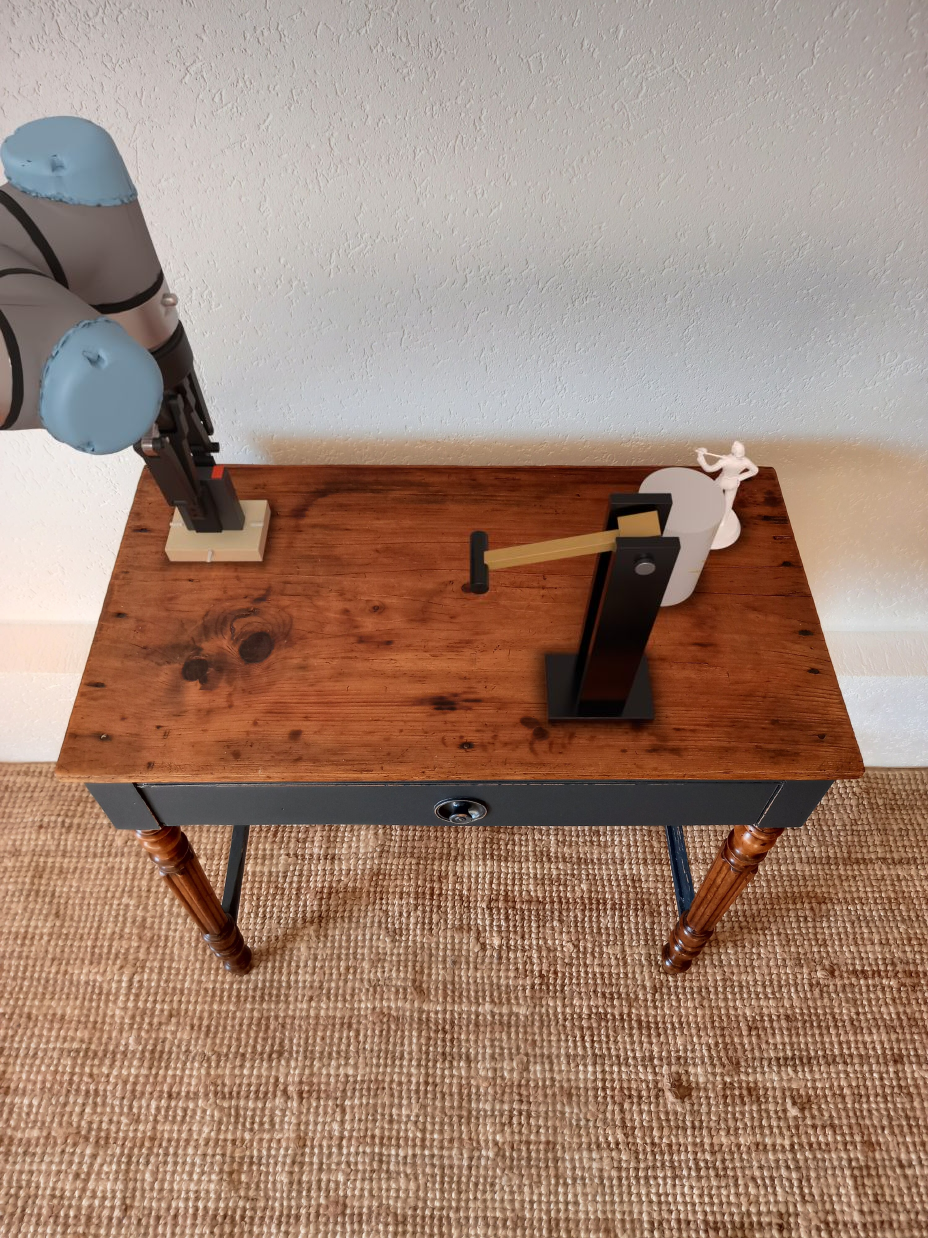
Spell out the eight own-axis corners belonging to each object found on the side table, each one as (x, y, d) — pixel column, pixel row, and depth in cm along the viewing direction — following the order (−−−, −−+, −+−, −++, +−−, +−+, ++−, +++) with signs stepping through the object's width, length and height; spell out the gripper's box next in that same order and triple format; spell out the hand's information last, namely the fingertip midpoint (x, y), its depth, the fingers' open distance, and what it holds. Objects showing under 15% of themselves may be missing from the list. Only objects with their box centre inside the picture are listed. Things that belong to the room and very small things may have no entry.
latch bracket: (547, 723, 76) (577, 559, 54) (543, 659, 80) (570, 482, 58) (652, 723, 76) (724, 559, 54) (644, 659, 80) (708, 482, 58)
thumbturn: (187, 530, 87) (162, 478, 80) (190, 517, 88) (166, 464, 81) (243, 530, 86) (223, 477, 80) (245, 517, 87) (226, 464, 81)
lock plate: (166, 573, 86) (159, 561, 84) (184, 501, 92) (179, 488, 90) (261, 573, 86) (256, 561, 84) (273, 500, 91) (269, 488, 90)
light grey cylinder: (701, 606, 83) (732, 533, 73) (622, 605, 83) (643, 532, 73) (690, 544, 87) (719, 467, 77) (616, 543, 88) (634, 466, 78)
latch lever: (474, 599, 60) (465, 581, 58) (474, 546, 63) (465, 528, 61) (665, 570, 57) (663, 550, 55) (656, 516, 60) (654, 495, 58)
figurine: (736, 501, 91) (769, 421, 81) (744, 550, 87) (779, 474, 77) (672, 498, 91) (697, 418, 81) (677, 547, 87) (704, 470, 77)
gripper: (160, 399, 62) (235, 577, 81) (199, 269, 70) (259, 459, 90) (62, 399, 62) (162, 577, 81) (114, 270, 71) (192, 459, 90)
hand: (213, 515), depth 86 cm, fingers open, 3 cm apart
